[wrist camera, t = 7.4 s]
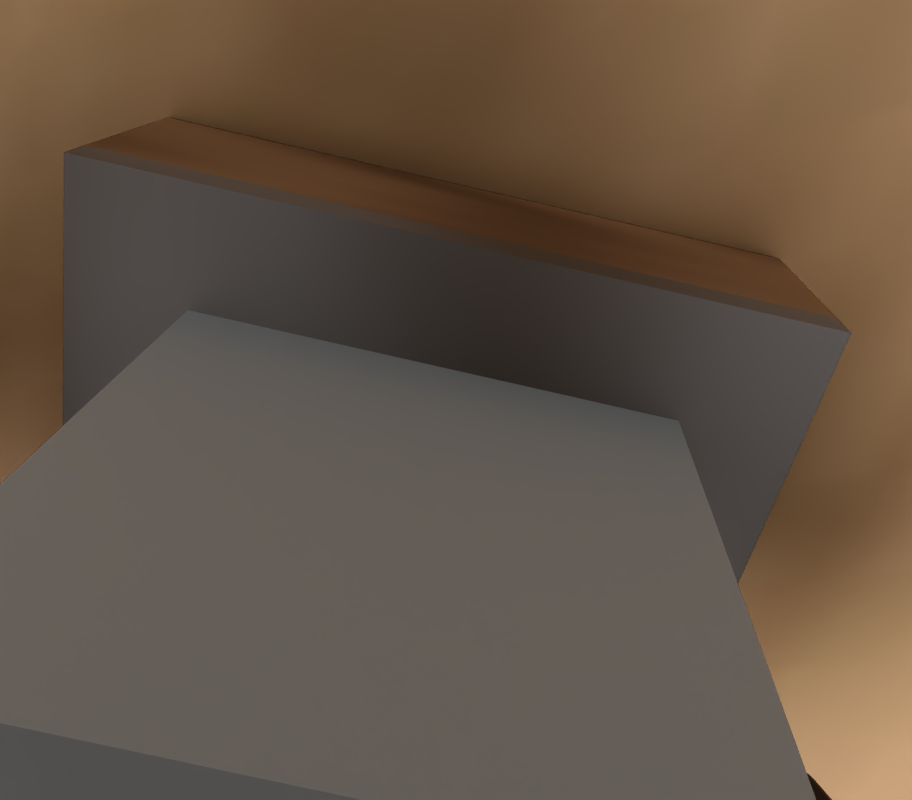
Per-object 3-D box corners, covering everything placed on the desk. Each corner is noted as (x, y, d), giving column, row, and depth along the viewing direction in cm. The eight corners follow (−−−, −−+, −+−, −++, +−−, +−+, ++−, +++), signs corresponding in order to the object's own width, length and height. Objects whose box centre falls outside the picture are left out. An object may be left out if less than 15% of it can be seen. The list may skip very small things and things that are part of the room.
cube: (160, 680, 13) (-114, 1192, 7) (187, 309, 10) (-211, 678, 5) (550, 763, 13) (569, 1326, 7) (678, 421, 10) (855, 902, 5)
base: (139, 604, 16) (61, 729, 13) (167, 118, 12) (63, 152, 9) (603, 705, 16) (618, 846, 13) (779, 258, 12) (851, 333, 9)
